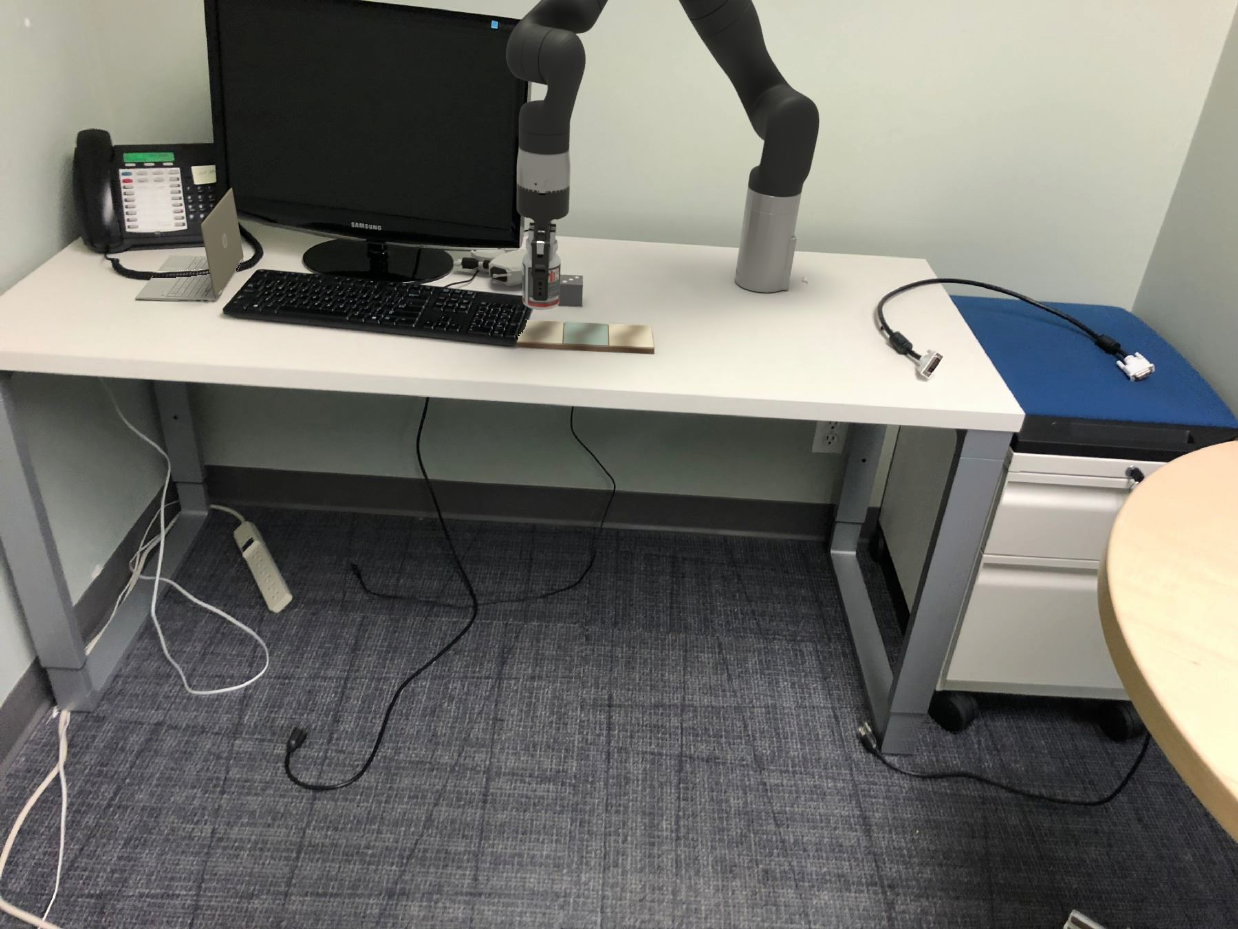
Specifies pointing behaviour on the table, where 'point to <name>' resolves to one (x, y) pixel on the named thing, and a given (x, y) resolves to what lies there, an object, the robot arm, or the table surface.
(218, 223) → the laptop
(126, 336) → the table surface
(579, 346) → the board
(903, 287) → the table surface
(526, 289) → the pill bottle
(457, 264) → the robot toy
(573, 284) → the die
